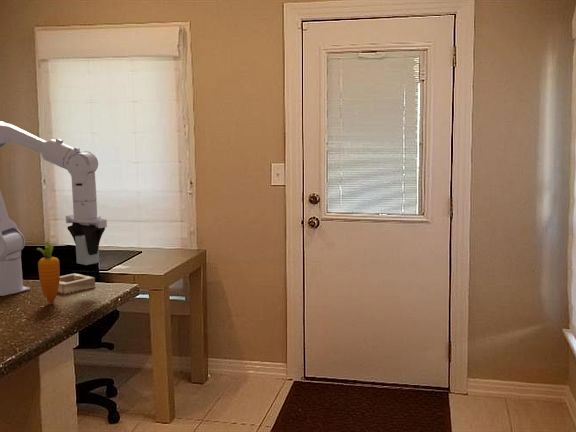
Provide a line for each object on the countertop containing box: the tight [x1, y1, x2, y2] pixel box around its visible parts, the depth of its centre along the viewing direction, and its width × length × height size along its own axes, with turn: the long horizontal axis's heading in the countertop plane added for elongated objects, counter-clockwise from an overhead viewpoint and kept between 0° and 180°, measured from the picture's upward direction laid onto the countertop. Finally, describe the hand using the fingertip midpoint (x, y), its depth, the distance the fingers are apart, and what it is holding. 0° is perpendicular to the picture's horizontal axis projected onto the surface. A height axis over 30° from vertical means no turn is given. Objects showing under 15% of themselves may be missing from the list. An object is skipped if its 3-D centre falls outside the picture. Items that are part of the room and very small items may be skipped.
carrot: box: [36, 241, 61, 304], centre depth 156 cm, size 5×5×15 cm
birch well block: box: [57, 272, 96, 295], centre depth 172 cm, size 9×9×2 cm
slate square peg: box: [74, 235, 100, 266], centre depth 165 cm, size 4×4×7 cm
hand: (87, 253), depth 165 cm, fingers closed on slate square peg, 4 cm apart
